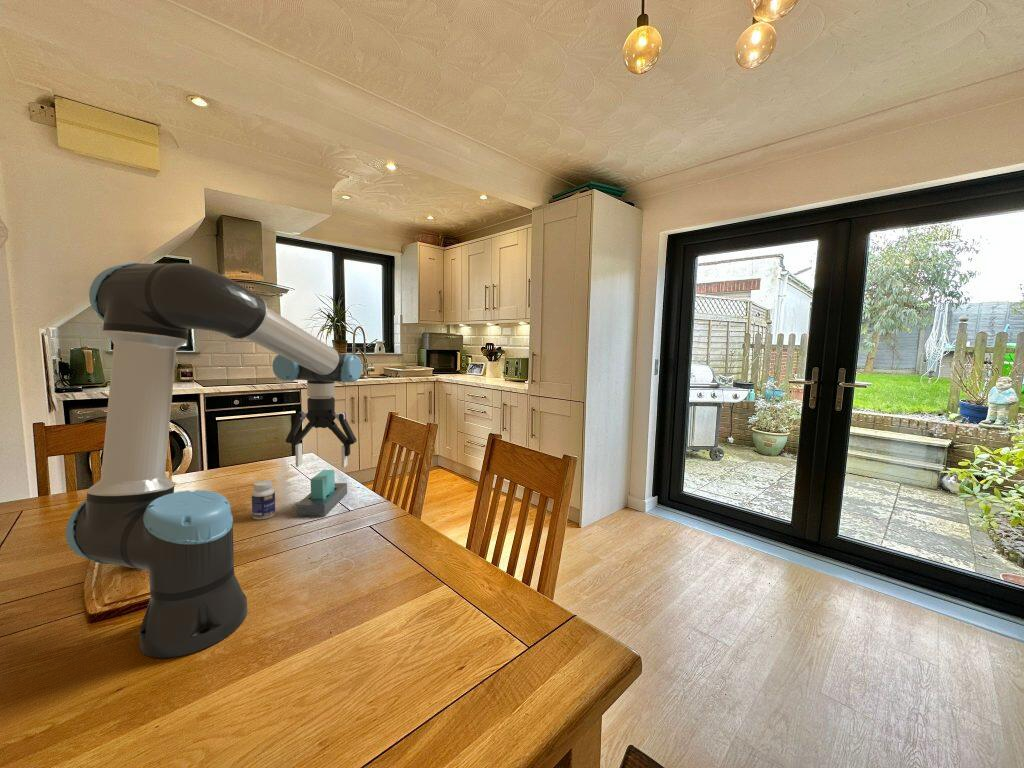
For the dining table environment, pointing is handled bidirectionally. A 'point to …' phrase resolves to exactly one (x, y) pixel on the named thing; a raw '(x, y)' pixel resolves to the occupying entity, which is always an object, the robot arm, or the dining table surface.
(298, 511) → the rail
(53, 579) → the dining table surface
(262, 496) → the pill bottle
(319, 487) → the clip
